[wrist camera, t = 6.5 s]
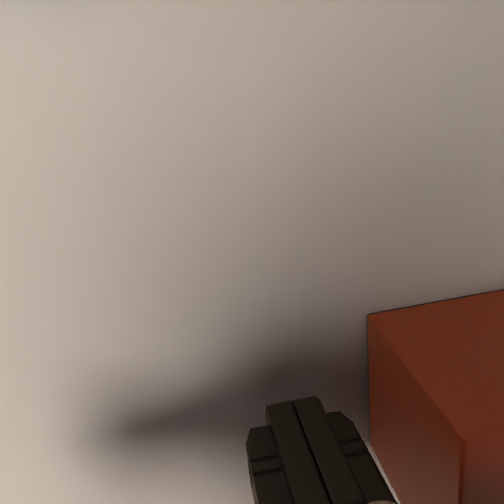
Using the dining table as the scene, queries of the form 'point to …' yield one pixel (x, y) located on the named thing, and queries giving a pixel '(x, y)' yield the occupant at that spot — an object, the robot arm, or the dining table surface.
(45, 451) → the dining table surface
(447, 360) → the middle block
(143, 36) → the dining table surface
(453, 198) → the dining table surface
